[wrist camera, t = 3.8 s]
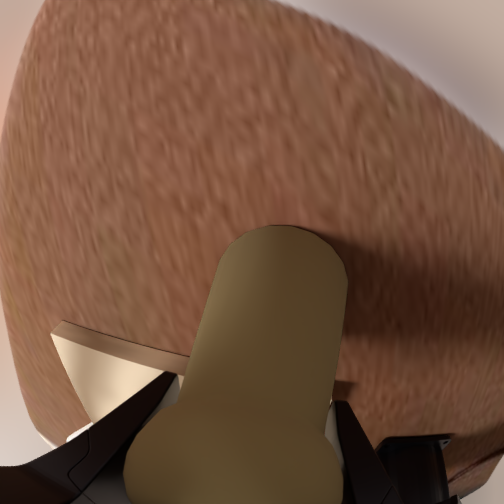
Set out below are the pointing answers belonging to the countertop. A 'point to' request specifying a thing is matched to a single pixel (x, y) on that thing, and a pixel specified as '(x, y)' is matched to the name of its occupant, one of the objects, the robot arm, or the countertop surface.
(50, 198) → the countertop surface
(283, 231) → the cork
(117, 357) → the birch board
